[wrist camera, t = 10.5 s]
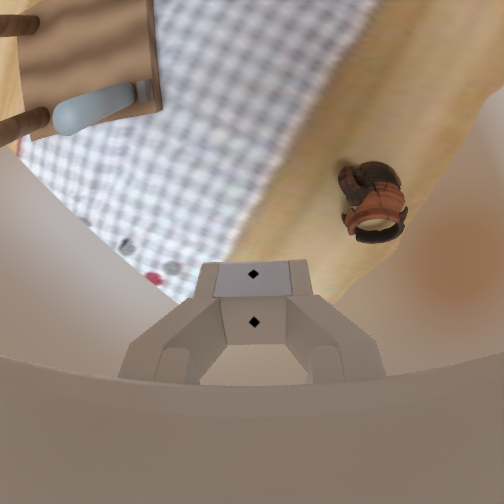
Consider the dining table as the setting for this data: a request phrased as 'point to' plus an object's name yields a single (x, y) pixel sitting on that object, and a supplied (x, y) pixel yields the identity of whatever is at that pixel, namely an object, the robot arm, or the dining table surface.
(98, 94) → the hinged leg
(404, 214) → the pottery mug
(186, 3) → the dining table surface
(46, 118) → the stool seat
